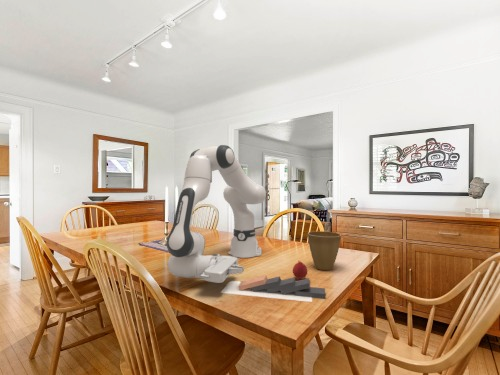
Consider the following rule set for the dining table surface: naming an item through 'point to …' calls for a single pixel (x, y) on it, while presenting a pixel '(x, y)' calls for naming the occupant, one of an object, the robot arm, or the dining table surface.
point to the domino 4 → (311, 292)
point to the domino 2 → (283, 285)
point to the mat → (262, 292)
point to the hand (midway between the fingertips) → (242, 270)
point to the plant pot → (324, 248)
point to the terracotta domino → (253, 282)
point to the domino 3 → (298, 286)
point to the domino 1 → (268, 284)
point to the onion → (299, 270)
